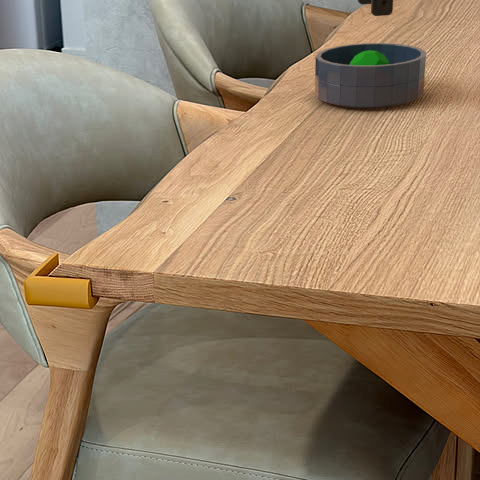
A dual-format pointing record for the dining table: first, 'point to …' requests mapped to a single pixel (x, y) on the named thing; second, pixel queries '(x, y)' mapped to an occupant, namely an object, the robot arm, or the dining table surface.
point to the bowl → (370, 76)
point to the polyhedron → (369, 58)
